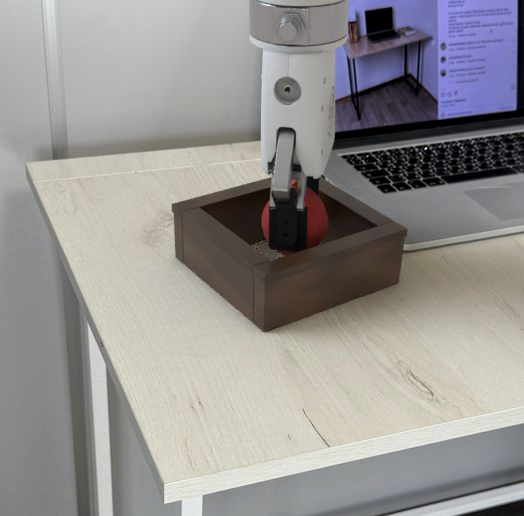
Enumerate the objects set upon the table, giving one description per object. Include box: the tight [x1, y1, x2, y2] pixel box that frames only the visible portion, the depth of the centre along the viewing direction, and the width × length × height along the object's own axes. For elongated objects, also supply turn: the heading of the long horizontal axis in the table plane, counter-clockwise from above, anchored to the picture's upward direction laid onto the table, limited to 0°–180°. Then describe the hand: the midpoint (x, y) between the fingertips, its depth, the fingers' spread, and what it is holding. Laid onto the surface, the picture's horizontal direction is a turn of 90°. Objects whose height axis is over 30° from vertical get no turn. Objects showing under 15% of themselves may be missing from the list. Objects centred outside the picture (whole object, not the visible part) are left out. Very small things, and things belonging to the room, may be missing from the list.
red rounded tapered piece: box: [261, 179, 328, 257], centre depth 77 cm, size 6×6×8 cm
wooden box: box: [171, 176, 408, 333], centre depth 78 cm, size 15×15×5 cm
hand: (294, 229), depth 77 cm, fingers closed on red rounded tapered piece, 6 cm apart
